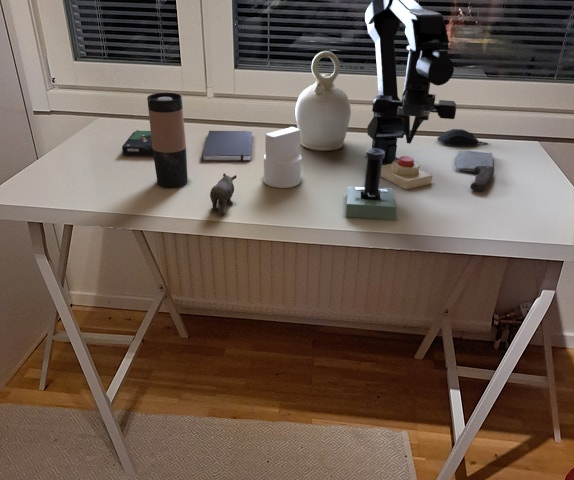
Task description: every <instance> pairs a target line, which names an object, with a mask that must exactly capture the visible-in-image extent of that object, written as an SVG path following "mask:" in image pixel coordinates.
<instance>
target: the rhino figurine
mask: <svg viewBox="0 0 574 480" xmlns="http://www.w3.org/2000/svg"><path fill="white" fill-rule="evenodd" d="M236 179H237V174H235V175H233V176H229V175H227V174H226V173H225V172H223V174H222V177H221V178H220V179H219V180H218V182H217V183H216V184H215V185H214V186H212V188H211V189H210V193H209V198H210V201H211V203H212V207H211V209H210V211H211V212H212V213H217V212H218V216H225V215H226V212H225V211H224V207H225V205H233V204H234V203H233V201H232V200H231V199H232V197H233V194H234V192H235V185H234V183H233V182H234V180H236ZM217 206H218V207H217Z"/></svg>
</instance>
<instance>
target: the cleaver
mask: <svg viewBox="0 0 574 480" xmlns="http://www.w3.org/2000/svg"><path fill="white" fill-rule="evenodd" d="M454 167H455V170H458V171H462V172H473V173H474V174H476V175H475V178H474V181H473V182H472V183H471V184H470V190H471V191H475V192H484V191H485V190H486V189H487V188H488V187H489V186H490V184H491V182H492V180H493V177H494V173H495V168H494V156H493V153H492V152H484V151H476V150H475V151H474V150H459V152H458V153H457V155H456V158H455V161H454Z"/></svg>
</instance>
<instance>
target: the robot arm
mask: <svg viewBox="0 0 574 480" xmlns="http://www.w3.org/2000/svg"><path fill="white" fill-rule="evenodd" d="M364 21H365V24H366V27H367V34H368V35H369V36H370V38H371V39H372V40H373V42H374V46H375V60H376V73H377V74H376V75H377V90H378V94H377V95H376V96H375V97H374V99H373V102H372V110H371V112H372V113H373V117H372V119H371V120H370V122H369V123H368V124H367V127H366V128H367V130H366V131H367V133H366V135H367V136H368V137H369V138H371V139H372V141H371V142H372V143H371V149H373V148H375V149H381V150H383V151H385V155H384V159H382V165H385V164H389V163H392V162H393V161H394V160H399V157H397V156H396V155H397V150H398V145H397V144H398V139H404V137H405V140H406V144H408V145H410V144H411V143H412V141H413V139H414V137H415V135H416V134H417V131H418V129H419V128H420V126H421V124H422V123H423V122H424V121H429V118H430V114H431V113H433V114H434V113H435V114H437V116H438V117H439V119H445V120H455V118H456V114H457V103H456V102H455V101H454V100H445V99H438V103H435V102H436V95H437V94H436V93H430V89H431V84H432V85H434V86H439V87H440V86H443V85H445V84H448V82H449V81H450V80H451V79H452V77H453V75H454V70H455V68H454V63H453V60H451V58H449V57H448V56H449V55H448V54H449V49H450V47H449V43H450V39H449V35H448V31H447V25H446V21H445V18H444V16H443V14H442V13H440V12H438V11H435V10H429V9H425V8H423V6H421V5H420V4H419V3H418V2H417V1H416V0H373V1H371V3H370V4H369V5H368V7H367V9H366V10H365V14H364ZM401 22H402V24H403V25H404V26H405V30H404V34H405V36H406V38H407V41H408V43H409V44H408V45H407V46H406V50H407V51H408V55H407V62H406V63H407V64H406V69H405V70H406V71H405V78H404V85H403V92H402V96H401V99H400V97H399V93H398V77H397V76H398V75H397V62H396V47H395V46H396V45H395V37H396V35H397V33H398V32H399V29H400V27H401ZM411 117H414V119H413V123H412V127H411Z"/></svg>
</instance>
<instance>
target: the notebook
mask: <svg viewBox="0 0 574 480" xmlns="http://www.w3.org/2000/svg"><path fill="white" fill-rule="evenodd" d="M252 153H253V131H251V130H208V134H207V137H206V141H205V145H204V149H203V151H202V161H206V162H207V161H208V162H209V161H210V162H213V161H216V162H250V161H252Z"/></svg>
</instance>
